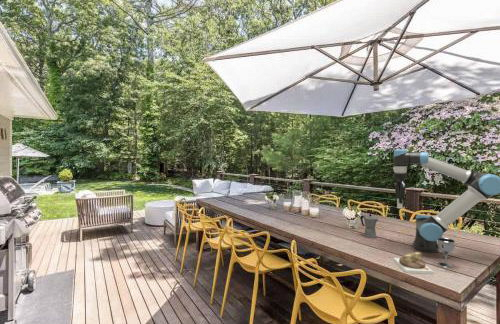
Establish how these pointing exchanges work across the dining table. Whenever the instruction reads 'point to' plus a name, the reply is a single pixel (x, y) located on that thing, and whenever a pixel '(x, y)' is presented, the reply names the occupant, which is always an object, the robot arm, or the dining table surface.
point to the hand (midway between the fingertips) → (399, 208)
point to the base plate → (414, 270)
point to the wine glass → (446, 249)
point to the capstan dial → (412, 260)
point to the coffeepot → (369, 226)
